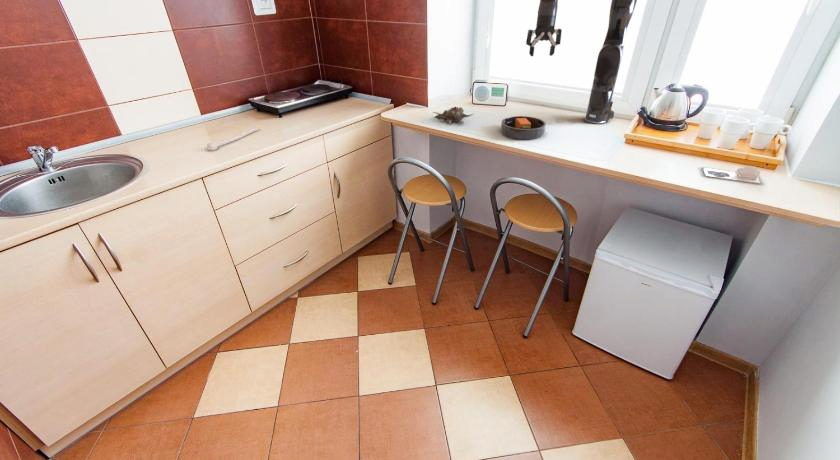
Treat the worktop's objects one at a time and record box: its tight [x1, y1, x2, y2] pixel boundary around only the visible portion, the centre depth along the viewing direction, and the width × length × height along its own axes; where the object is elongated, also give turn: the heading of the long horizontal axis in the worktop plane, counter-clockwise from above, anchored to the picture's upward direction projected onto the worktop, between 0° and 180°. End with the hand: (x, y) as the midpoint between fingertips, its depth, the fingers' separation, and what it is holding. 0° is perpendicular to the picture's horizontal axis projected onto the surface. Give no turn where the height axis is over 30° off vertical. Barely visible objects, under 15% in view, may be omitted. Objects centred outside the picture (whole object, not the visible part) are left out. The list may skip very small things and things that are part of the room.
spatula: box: [206, 127, 260, 152], centre depth 170 cm, size 28×4×3 cm, turn 157°
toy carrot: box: [515, 118, 531, 129], centre depth 169 cm, size 13×4×5 cm, turn 3°
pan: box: [500, 115, 547, 141], centre depth 168 cm, size 19×19×4 cm
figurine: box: [432, 106, 474, 125], centre depth 186 cm, size 20×6×17 cm
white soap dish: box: [702, 165, 761, 185], centre depth 128 cm, size 15×7×4 cm, turn 65°
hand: (541, 55), depth 170 cm, fingers open, 8 cm apart
